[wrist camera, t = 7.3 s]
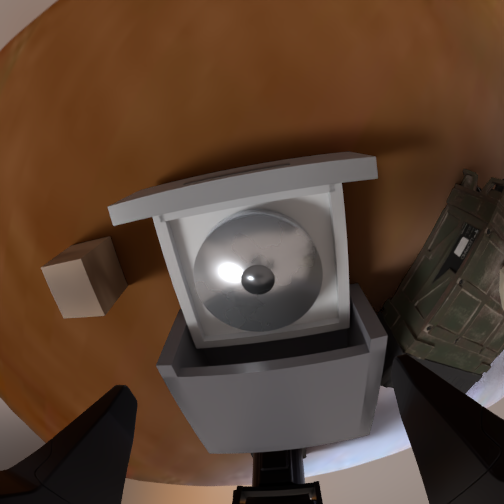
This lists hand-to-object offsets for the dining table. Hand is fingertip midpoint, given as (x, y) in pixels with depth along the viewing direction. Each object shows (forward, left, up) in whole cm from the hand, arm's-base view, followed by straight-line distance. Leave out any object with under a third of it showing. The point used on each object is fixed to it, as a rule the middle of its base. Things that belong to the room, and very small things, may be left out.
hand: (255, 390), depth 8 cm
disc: (0, 0, -9) cm, 9 cm away
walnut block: (+1, +12, -11) cm, 16 cm away
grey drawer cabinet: (-9, 0, -11) cm, 14 cm away
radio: (-4, -19, -12) cm, 23 cm away
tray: (0, 0, -10) cm, 10 cm away
